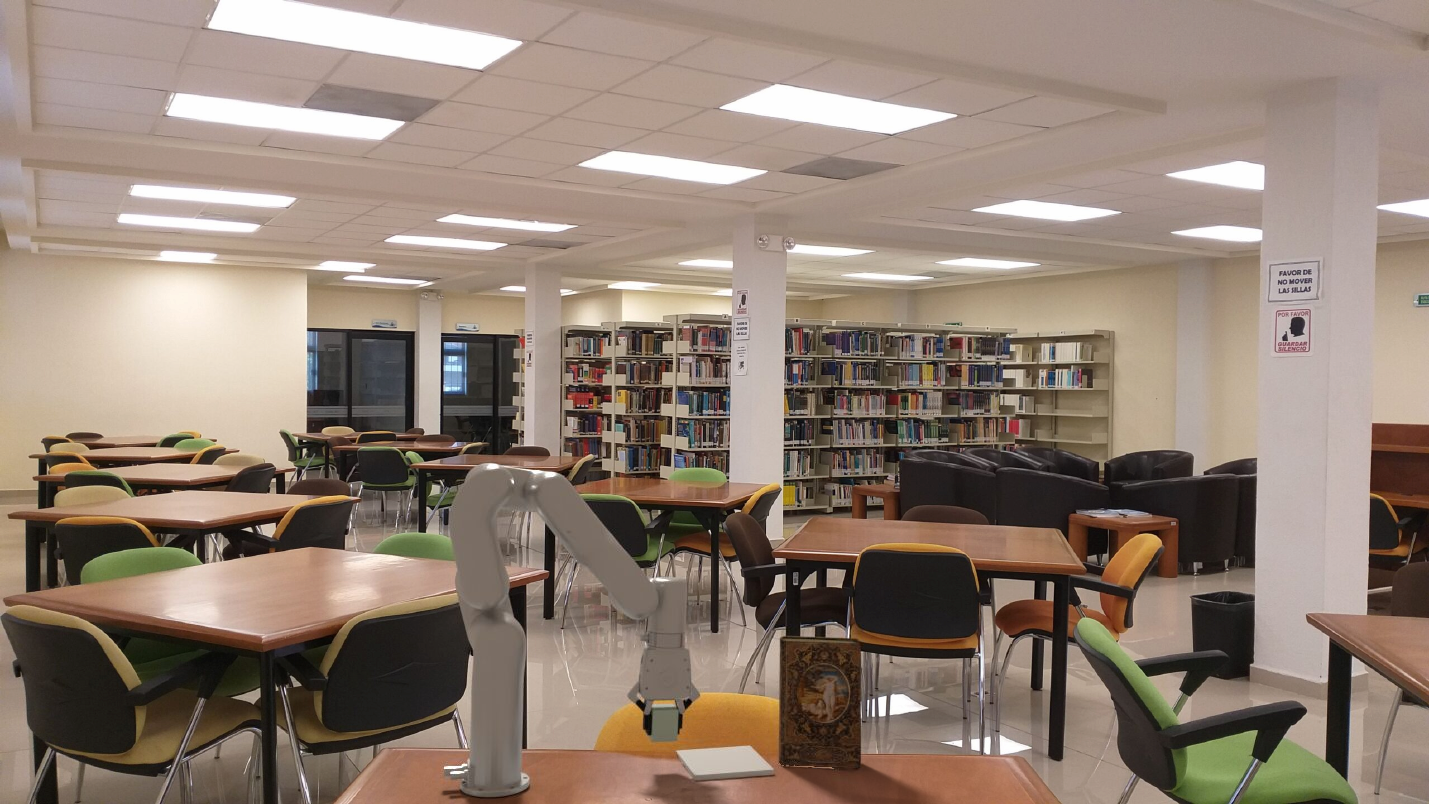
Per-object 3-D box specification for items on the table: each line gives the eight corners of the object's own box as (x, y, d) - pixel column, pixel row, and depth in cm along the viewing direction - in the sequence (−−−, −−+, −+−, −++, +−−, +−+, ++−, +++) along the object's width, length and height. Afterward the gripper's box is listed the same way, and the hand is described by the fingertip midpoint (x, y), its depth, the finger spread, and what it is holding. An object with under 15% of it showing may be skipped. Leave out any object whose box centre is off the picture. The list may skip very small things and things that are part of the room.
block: (652, 742, 188) (653, 710, 189) (647, 735, 193) (648, 704, 194) (677, 741, 190) (678, 710, 190) (671, 734, 195) (672, 703, 195)
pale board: (694, 780, 185) (694, 775, 185) (675, 755, 200) (676, 750, 200) (774, 774, 189) (774, 769, 189) (749, 750, 204) (749, 745, 204)
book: (778, 766, 194) (779, 640, 195) (779, 758, 199) (780, 635, 201) (861, 770, 192) (861, 643, 194) (859, 762, 198) (860, 638, 199)
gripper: (627, 644, 187) (623, 740, 186) (712, 643, 191) (708, 737, 190) (620, 637, 194) (616, 729, 193) (702, 636, 199) (699, 726, 197)
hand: (662, 732), depth 192 cm, fingers closed on block, 5 cm apart
